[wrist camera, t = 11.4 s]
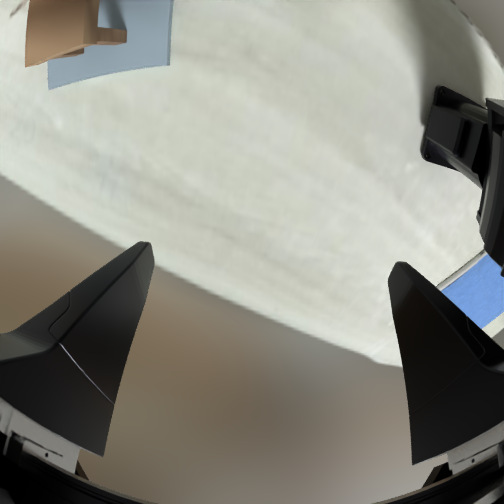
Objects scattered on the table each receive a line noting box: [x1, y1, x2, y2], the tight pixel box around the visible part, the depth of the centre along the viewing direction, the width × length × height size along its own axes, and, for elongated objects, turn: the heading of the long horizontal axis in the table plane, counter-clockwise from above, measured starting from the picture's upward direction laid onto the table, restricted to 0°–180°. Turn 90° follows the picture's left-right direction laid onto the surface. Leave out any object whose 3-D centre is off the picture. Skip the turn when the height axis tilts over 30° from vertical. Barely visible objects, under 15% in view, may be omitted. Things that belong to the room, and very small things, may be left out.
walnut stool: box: [25, 0, 127, 67], centre depth 9 cm, size 6×5×6 cm
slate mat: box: [48, 0, 173, 90], centre depth 11 cm, size 11×11×1 cm
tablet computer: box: [436, 250, 504, 329], centre depth 28 cm, size 19×13×1 cm, turn 47°
